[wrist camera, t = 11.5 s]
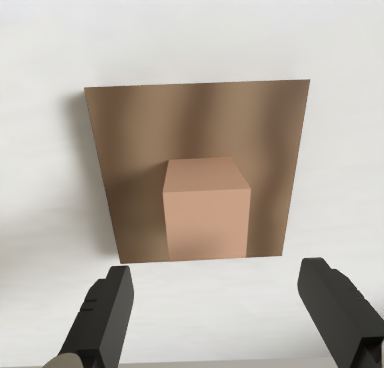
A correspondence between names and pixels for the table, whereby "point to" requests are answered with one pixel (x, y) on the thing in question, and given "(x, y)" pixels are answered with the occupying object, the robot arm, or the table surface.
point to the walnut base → (196, 153)
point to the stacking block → (206, 209)
